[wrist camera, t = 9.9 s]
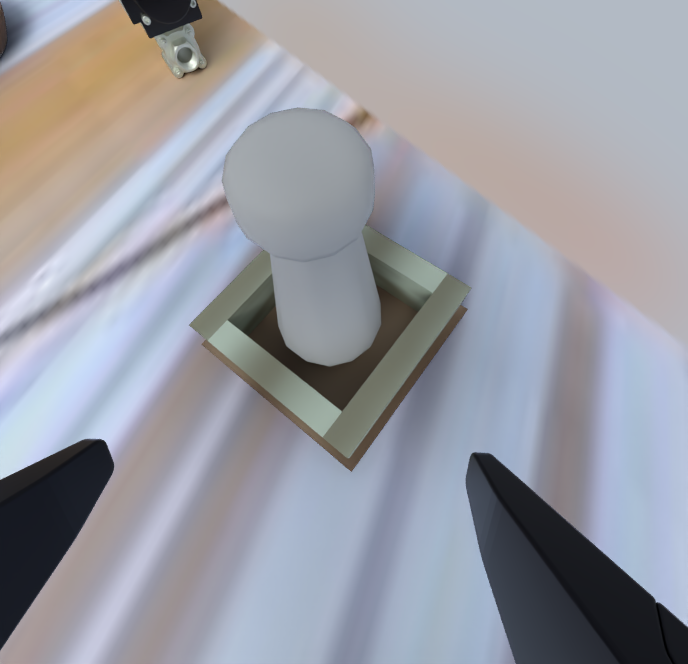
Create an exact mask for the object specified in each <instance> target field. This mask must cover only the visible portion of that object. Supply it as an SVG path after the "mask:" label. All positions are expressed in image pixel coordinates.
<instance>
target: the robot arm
mask: <svg viewBox="0 0 688 664" xmlns="http://www.w3.org/2000/svg"><path fill="white" fill-rule="evenodd" d="M113 470H114V462H113V459H112V457H111V454H110V452H109V449H108V446H107V444H106V442H105V441H104V440H101V439H84V440H82V441H80V442H77V443H75V444H73V445H71V446H69V447H67V448H65V449H63V450H61V451H59V452H57V453H55V454H53V455H51V456H49V457H47V458H44V459H42V460H40V461H38V462H36V463H34V464H32V465H30V466H28V467H26V468H24V469H22V470H20V471H18V472H16V473H14V474H12V475H9V476H7V477H5V478H3V479H1V480H0V650H1V649H2V647H3V646H4V644H5V643H6V641H7V640H8V638H9V637H10V635H11V634H12V632H13V631H14V630H15V628H16V627H17V625H18V624H19V622H20V621H21V619H22V618H23V616H24V615H25V613H26V612H27V610H28V609H29V607H30V606H31V604H32V603H33V601H34V600H35V598H36V597H37V595H38V594H39V592H40V591H41V589H42V588H43V586H44V585H45V583H46V582H47V581H48V579H49V578H50V576H51V575H52V573H53V572H54V570H55V569H56V567H57V566H58V564H59V563H60V561H61V560H62V558H63V557H64V555H65V554H66V552H67V551H68V549H69V548H70V546H71V545H72V543H73V542H74V540H75V539H76V537H77V535H78V534H79V532H80V530H81V529H82V527H83V525H84V523H85V522H86V520H87V518H88V516H89V514H90V513H91V511H92V509H93V507H94V506H95V504H96V502H97V500H98V498H99V497H100V495H101V493H102V491H103V490H104V488H105V486H106V484H107V482H108V481H109V479H110V477H111V475H112V473H113ZM466 489H467V494H468V498H469V503H470V507H471V512H472V517H473V521H474V526H475V530H476V535H477V540H478V544H479V548H480V553H481V557H482V560H483V564H484V567H485V570H486V573H487V577H488V580H489V583H490V586H491V589H492V592H493V595H494V598H495V601H496V604H497V607H498V610H499V613H500V617H501V620H502V623H503V626H504V629H505V632H506V635H507V638H508V641H509V644H510V647H511V650H512V654H513V657H514V660H515V663H516V664H688V627H687V626H686V625H685V624H684V623H683V622H681V621H680V620H679V619H678V618H677V617H676V616H675V615H673V614H672V613H671V612H670V611H669V610H668V609H667V608H666V607H664V606H663V605H662V604H661V603H658V602H657V603H656V601H655V599H654V597H653V596H652V595H651V594H649V593H648V592H647V591H646V590H645V589H644V588H643V587H641V586H640V585H639V584H638V583H637V582H636V581H635V580H633V579H632V578H631V577H630V576H629V575H628V574H627V573H626V572H624V571H623V570H622V569H621V568H620V567H619V566H618V565H616V564H615V563H614V562H613V561H612V560H611V559H610V558H609V557H607V556H606V555H605V554H604V553H603V552H602V551H601V550H599V549H598V548H597V547H596V546H595V545H594V544H593V543H592V542H590V541H589V540H588V539H587V538H586V537H585V536H584V535H582V534H581V533H580V532H579V531H578V530H577V529H576V528H574V527H573V526H572V525H571V524H570V523H569V522H568V521H567V520H565V519H564V518H563V517H562V516H561V515H560V514H559V513H557V512H556V511H555V510H554V509H553V508H552V507H551V506H550V505H548V504H547V503H546V502H545V501H544V500H543V499H542V498H540V497H539V496H538V495H537V494H536V493H535V492H534V491H533V490H531V489H530V488H529V487H528V486H527V485H526V484H525V483H523V482H522V481H521V480H520V479H519V478H518V477H517V476H515V475H514V474H513V473H512V472H511V471H510V470H509V469H508V468H506V467H505V466H504V465H503V464H502V463H501V462H500V461H498V460H497V459H496V458H495V457H494V456H493V455H491V454H490V453H477V452H474V453H472V454H471V456H470V459H469V464H468V469H467V474H466Z"/></svg>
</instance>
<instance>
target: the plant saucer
mask: <svg viewBox="0 0 688 664" xmlns="http://www.w3.org/2000/svg"><path fill="white" fill-rule="evenodd" d="M6 44H7V30H6V23H5V17H4V12H3V9H2V5H1V2H0V57H1V56H2V54H3V52H4V50H5V47H6Z"/></svg>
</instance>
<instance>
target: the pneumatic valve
mask: <svg viewBox="0 0 688 664" xmlns="http://www.w3.org/2000/svg"><path fill="white" fill-rule="evenodd" d="M119 2H120V3H121V5H122V6H123V8H124V10H125V11H126V13H127V15H128V16H129V18H130V19H131V21H132V23H133V24H137V23H140V24H141V25H142V27H143V29H144V30H145V32H146V33H147V35H148V37H149V38H153V37H154V38H155V40H156V41H157V43H158V45H159V47H160V48H161V50H162V57H163V59H164V61H165V62H166V64H167V65H168V67H169V68H170V70H171V72H172V73H173V75H174V76H175V77H177V78H181V77H182V76H183V73H185V72H186V73H187V72H191V71H194V70H196V69H197V68H198V67H199V68H205V67H206V64H207V63H206V59H205V58H204V57H203V55H202V54H201V52H200V49H199V46H198V44H197V42H196V40H195V39H194V29H193V27H192V26H191V25H190V23H191V22H194V21H196V20H199V19H202V15H201V12H200V9H199V6H198V4H197V1H196V0H119Z"/></svg>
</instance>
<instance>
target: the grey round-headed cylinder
mask: <svg viewBox="0 0 688 664" xmlns="http://www.w3.org/2000/svg"><path fill="white" fill-rule="evenodd" d="M222 183H223V187H224V190H225V194H226V198H227V201H228V203H229V205H230V208H231V210H232V212H233V215H234V217H235V219H236V222H237V224H238V225H239V227H240V228H241V230H242V231H243V233H244V235H245V236H246V238H248V239H249V240H251V241H252V242H254V243H255V244H256V245H258V246H259V247H261V248H262V249H264V250H265V251H267V252H268V253H270V259H271V268H272V277H273V285H274V294H275V302H276V311H277V319H278V327H279V329H280V332H281V334H282V337H283V339H284V341H285V344H286V346H287V347H288V348H289V349H291V350H292V351H293V352H295V353H296V354H297V355H299V356H300V357H301V358H303V359H304V360H305V361H307V362H311V363H316V364H320V365H324V366H329V367H331V366H335V365H339V364H343V363H347V362H351V361H353V360H355V359H356V358H357V357H358V356H360V355H361V354H362V353H364V352H365V351H366V350H367V349H369V348H370V347H371V345H372V343H373V341H374V339H375V337H376V335H377V332H378V330H379V328H380V326H381V303H380V299H379V295H378V291H377V288H376V284H375V280H374V276H373V273H372V269H371V265H370V261H369V257H368V254H367V250H366V246H365V242H364V238H363V235H362V230H363V228H364V226H365V224H366V222H367V220H368V218H369V216H370V215H371V213H372V211H373V205H374V196H375V184H374V164H373V158H372V152H371V148H370V147H369V146H368V144H367V143H366V142H365V140H364V139H363V137H362V136H361V135H360V133H359V132H358V131H357V129H356V128H355V127H353V126H352V125H350V124H349V123H348V122H346V121H344V120H342V119H340V118H338V117H337V116H335V115H333V114H331V113H329V112H327V111H325V110H317V109H307V108H294V109H289V110H284V111H279V112H274V113H270V114H269V115H267V116H265V117H263V118H262V119H260V120H258V121H257V122H255V123H253V124H252V125H250V126H248V127H247V129H246V130H245V131H244V132H243V134H242V135H241V136H240V137H239V138H238V140H237V141H236V142H235V143H234V145H233V146H232V147H231V149H230V150H229V152H228V153H227V154H226V157H225V163H224V170H223V176H222Z"/></svg>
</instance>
